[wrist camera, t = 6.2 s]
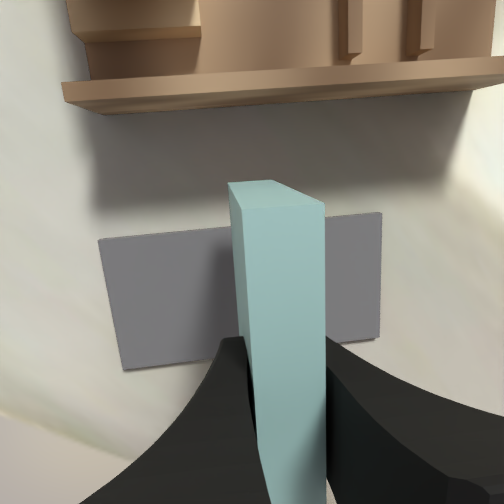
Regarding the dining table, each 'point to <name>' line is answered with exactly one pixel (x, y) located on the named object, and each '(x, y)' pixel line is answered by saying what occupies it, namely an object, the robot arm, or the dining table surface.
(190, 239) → the mat
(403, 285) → the dining table surface
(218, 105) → the rack
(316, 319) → the teal rectangular block
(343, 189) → the dining table surface
